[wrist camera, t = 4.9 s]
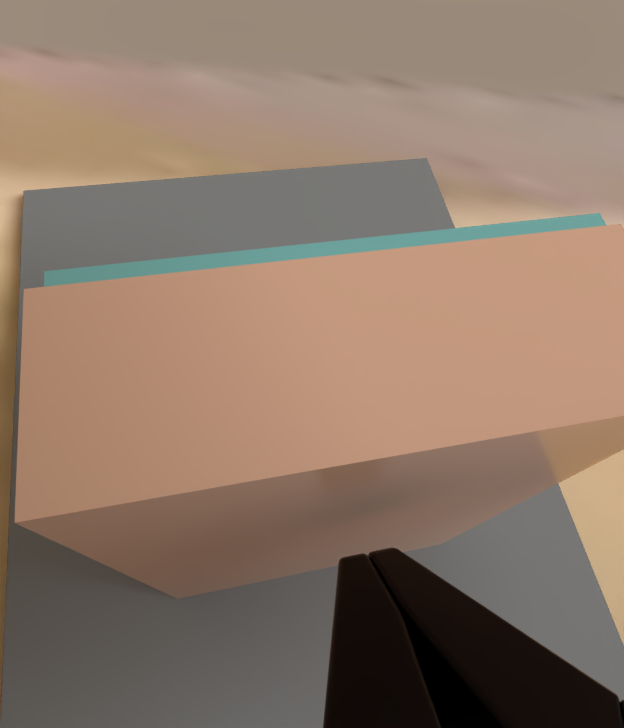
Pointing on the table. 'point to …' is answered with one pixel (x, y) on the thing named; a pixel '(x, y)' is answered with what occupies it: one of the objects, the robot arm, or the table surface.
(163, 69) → the table surface
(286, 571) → the salmon rectangular block
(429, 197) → the mat
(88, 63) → the table surface
